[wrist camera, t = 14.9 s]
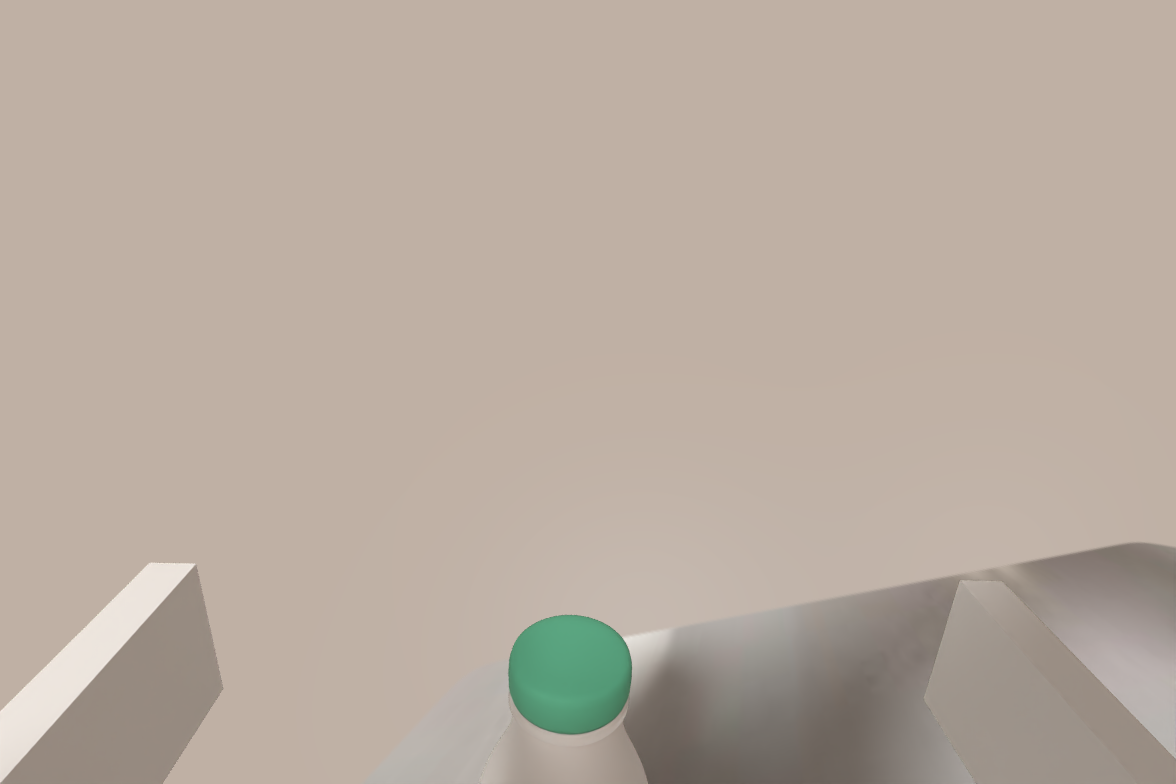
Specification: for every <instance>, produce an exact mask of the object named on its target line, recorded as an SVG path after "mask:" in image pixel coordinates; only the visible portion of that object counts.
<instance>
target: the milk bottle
mask: <svg viewBox="0 0 1176 784" xmlns="http://www.w3.org/2000/svg"><path fill="white" fill-rule="evenodd" d="M508 674H509V706H510V710H511V713H512V715H513V717H512V719H511V722H510V724H509V726H508V728H507V729H506V731H505V732H504V734H503V735H502V737H501V738H500V740H499V741H498V743H497V744H496V746H495V747H494V749H493V751H492V753H491V754H490V756H489V759H488V761H487V763H486V765H485V768H484V770H483V772H482V775H481V778H480V782H479V784H648V781H647V777H646V774H645V771H644V768H643V765H642V762H641V760H640V758H639V756H638V754H637V752H636V749H635V747H634V745H633V744H632V742H631V740H630V738H629V736H628V734H627V732H626V730H625V727H624V724H623V720H624V718H625V716H626V713H627V711H628V706H629V692H630V686H631V677H632V662H631V656H630V653H629V649H628V647H627V645H626V643H625V641H624V640H623V638H622V637H621V636H620V635H619V634H618V633H617V632H616V631H615V630H613V629H612V628H611V627H610V626H608V625H606V624H604V623H603V622H600V621H598V620H595V619H592V618H589V617H584V616H578V615H561V616H554V617H550V618H546V619H544V620H541V621H538V622H536V623H535V624H533V625H531V626H530V627H528V628H527V629H526V630H524V631H523V632H522V634H521V635H520V636H519V637H518V638H517V640H516V642H515V644H514V646H513V648H512V651H511V654H510V659H509V673H508Z"/></svg>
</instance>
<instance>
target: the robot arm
mask: <svg viewBox="0 0 1176 784" xmlns="http://www.w3.org/2000/svg"><path fill="white" fill-rule="evenodd" d="M222 690H223V685H222V680H221V676H220V671H219V667H218V663H217V657H216V653H215V648H214V644H213V639H212V634H211V630H210V625H209V621H208V616H207V611H206V607H205V602H204V598H203V593H202V589H201V584H200V579H199V575H198V570H197V565H196V564H180V563H175V564H174V563H149V564H148V565H147V566H146V567H145V568H144V569H143V570H142V571H141V572H140V573H139V574H138V575H137V576H136V577H135V578H134V579H133V580H132V581H131V582H130V583H129V584H128V585H127V586H126V587H125V588H124V589H123V590H122V591H121V592H120V593H119V594H118V595H117V596H116V597H115V598H114V599H113V600H112V601H111V602H110V603H109V604H108V605H107V606H106V607H105V608H104V609H103V610H102V611H101V612H100V613H99V614H98V615H97V616H96V617H95V618H94V619H93V620H92V621H91V622H90V623H89V624H88V625H87V626H86V627H85V628H84V629H83V630H82V631H81V632H80V633H79V634H78V635H77V636H76V637H75V638H74V639H73V640H72V641H71V642H70V643H69V644H68V645H67V646H66V647H65V648H64V649H63V650H62V651H61V652H60V653H59V654H58V655H57V656H56V657H55V658H54V659H53V660H52V661H51V662H50V663H49V664H48V665H47V666H46V667H45V668H43V669H42V671H41V672H40V673H39V674H38V675H37V676H35V678H33V680H31V681H30V682H29V683H28V684H27V685H26V686H25V687H24V688H23V689H22V690H21V691H20V692H19V693H18V694H17V695H16V696H15V697H14V698H13V699H12V700H11V701H10V702H9V703H8V704H7V705H6V706H5V707H4V708H3V709H2V710H1V711H0V784H163V782H164V780H165V779H166V777H167V776H168V774H169V773H170V771H171V770H172V768H173V767H174V765H175V763H176V762H177V760H178V759H179V757H180V756H181V754H182V752H183V751H184V749H185V748H186V746H187V745H188V743H189V741H190V740H191V738H192V737H193V735H194V734H195V732H196V731H197V729H198V727H199V726H200V724H201V723H202V721H203V720H204V718H205V716H206V715H207V713H208V712H209V710H210V708H211V707H212V706H213V704H214V702H215V701H216V699H217V698H218V696H219V695H220V693H221V691H222ZM924 701H925V702H926V704H927V706H928V707H929V709H930V710H931V712H932V714H933V715H934V717H935V718H936V720H937V722H938V723H939V725H940V726H941V728H942V730H943V731H944V733H945V734H946V736H947V738H948V739H949V741H950V742H951V744H952V746H953V747H954V749H955V750H956V752H957V754H958V755H959V757H960V758H961V760H962V762H963V763H964V765H965V766H966V768H967V770H968V771H969V773H970V774H971V776H972V778H973V779H974V781H975V782H976V784H1176V759H1175V758H1174V757H1173V756H1172V755H1171V754H1170V753H1169V752H1168V751H1167V750H1166V749H1165V748H1164V747H1163V746H1162V745H1161V744H1160V743H1159V742H1158V741H1157V739H1156V738H1155V737H1154V736H1153V735H1152V734H1151V733H1150V732H1149V731H1148V730H1147V729H1146V728H1145V727H1144V726H1143V725H1142V724H1141V723H1140V722H1139V721H1138V720H1137V719H1136V718H1135V717H1134V716H1133V715H1132V714H1131V713H1130V712H1129V711H1128V710H1127V709H1126V708H1125V707H1124V706H1123V705H1122V703H1121V702H1120V701H1119V700H1118V699H1117V698H1116V697H1115V696H1114V695H1113V694H1112V693H1111V692H1110V691H1109V690H1108V689H1107V688H1106V687H1105V686H1104V685H1103V684H1102V683H1101V682H1100V681H1099V680H1098V679H1097V678H1096V677H1095V676H1094V675H1093V674H1092V673H1091V672H1090V671H1089V670H1088V669H1087V667H1086V666H1085V665H1084V664H1083V663H1082V662H1081V661H1080V660H1079V659H1078V658H1077V657H1076V656H1075V655H1074V654H1073V653H1072V652H1071V651H1070V650H1069V649H1068V648H1067V647H1066V646H1065V645H1064V644H1063V643H1062V642H1061V641H1060V640H1059V639H1058V638H1057V637H1056V636H1055V635H1054V634H1053V632H1052V631H1051V630H1050V629H1049V628H1048V627H1047V626H1046V625H1045V624H1044V623H1043V622H1042V621H1041V620H1040V619H1039V618H1038V617H1037V616H1036V615H1035V614H1034V613H1033V612H1032V611H1031V610H1030V609H1029V608H1028V607H1027V606H1026V605H1025V604H1024V603H1023V602H1022V601H1021V600H1020V599H1019V598H1018V596H1017V595H1016V594H1015V593H1014V592H1013V591H1012V590H1011V589H1010V588H1009V587H1008V586H1007V585H1006V584H1005V583H1004V582H1003V581H976V580H960V581H959V584H958V588H957V591H956V594H955V597H954V601H953V604H952V607H951V611H950V614H949V617H948V620H947V624H946V627H945V630H944V634H943V637H942V640H941V643H940V647H939V650H938V653H937V657H936V660H935V663H934V666H933V670H932V673H931V676H930V680H929V683H928V686H927V689H926V693H925V696H924Z"/></svg>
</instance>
